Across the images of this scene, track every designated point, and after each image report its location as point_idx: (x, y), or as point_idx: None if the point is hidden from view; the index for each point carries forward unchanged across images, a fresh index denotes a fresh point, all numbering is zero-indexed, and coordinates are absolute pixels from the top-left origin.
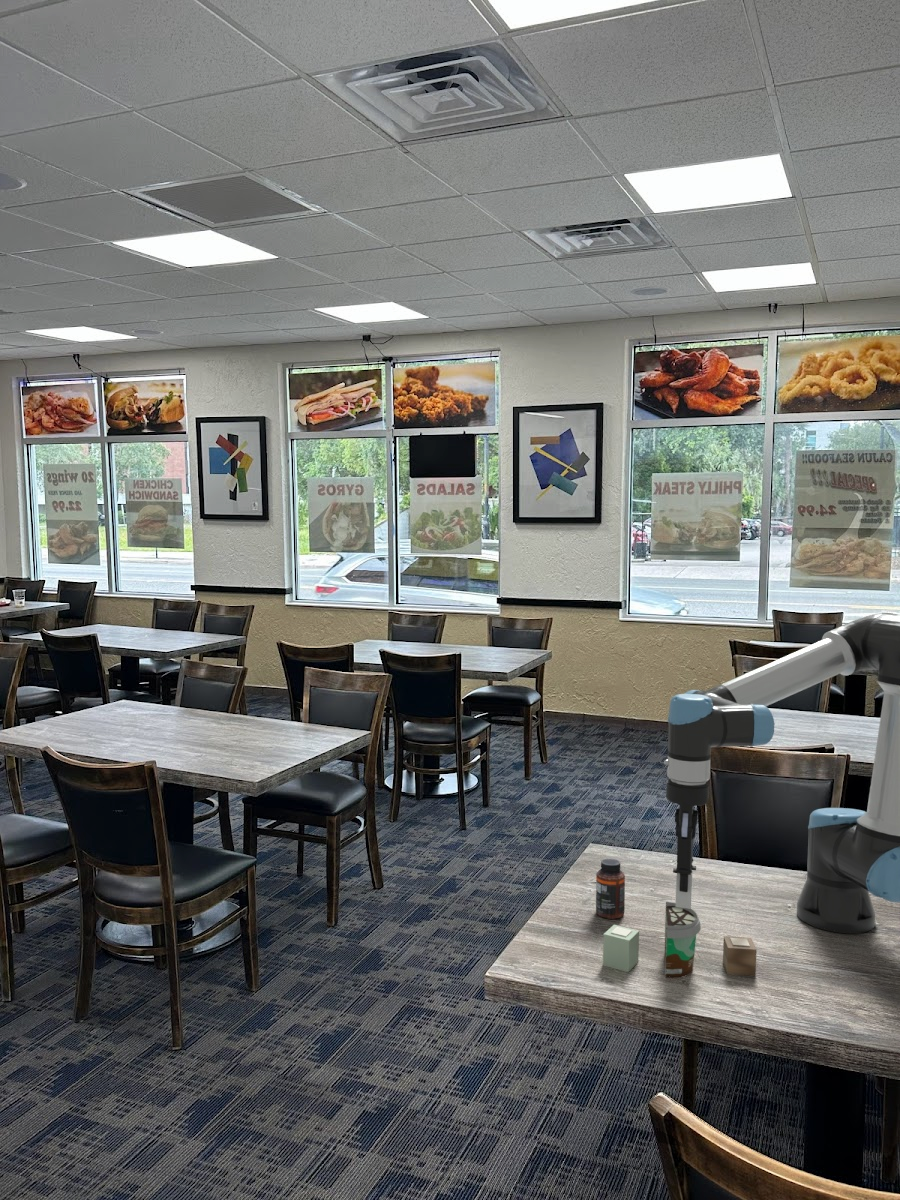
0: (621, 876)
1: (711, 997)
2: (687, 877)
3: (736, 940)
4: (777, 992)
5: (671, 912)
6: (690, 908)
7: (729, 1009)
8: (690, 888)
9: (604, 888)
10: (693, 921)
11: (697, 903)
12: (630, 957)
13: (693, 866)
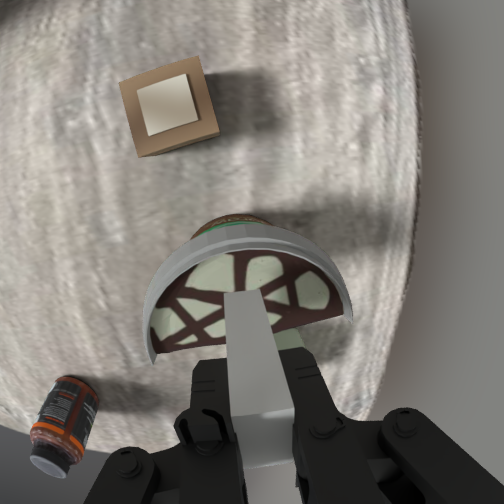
0: (51, 437)
1: (348, 159)
2: (335, 407)
3: (162, 114)
4: (268, 29)
5: (198, 335)
6: (259, 290)
7: (381, 123)
8: (276, 347)
9: (85, 441)
10: (240, 257)
11: None
12: (294, 343)
13: (198, 437)
